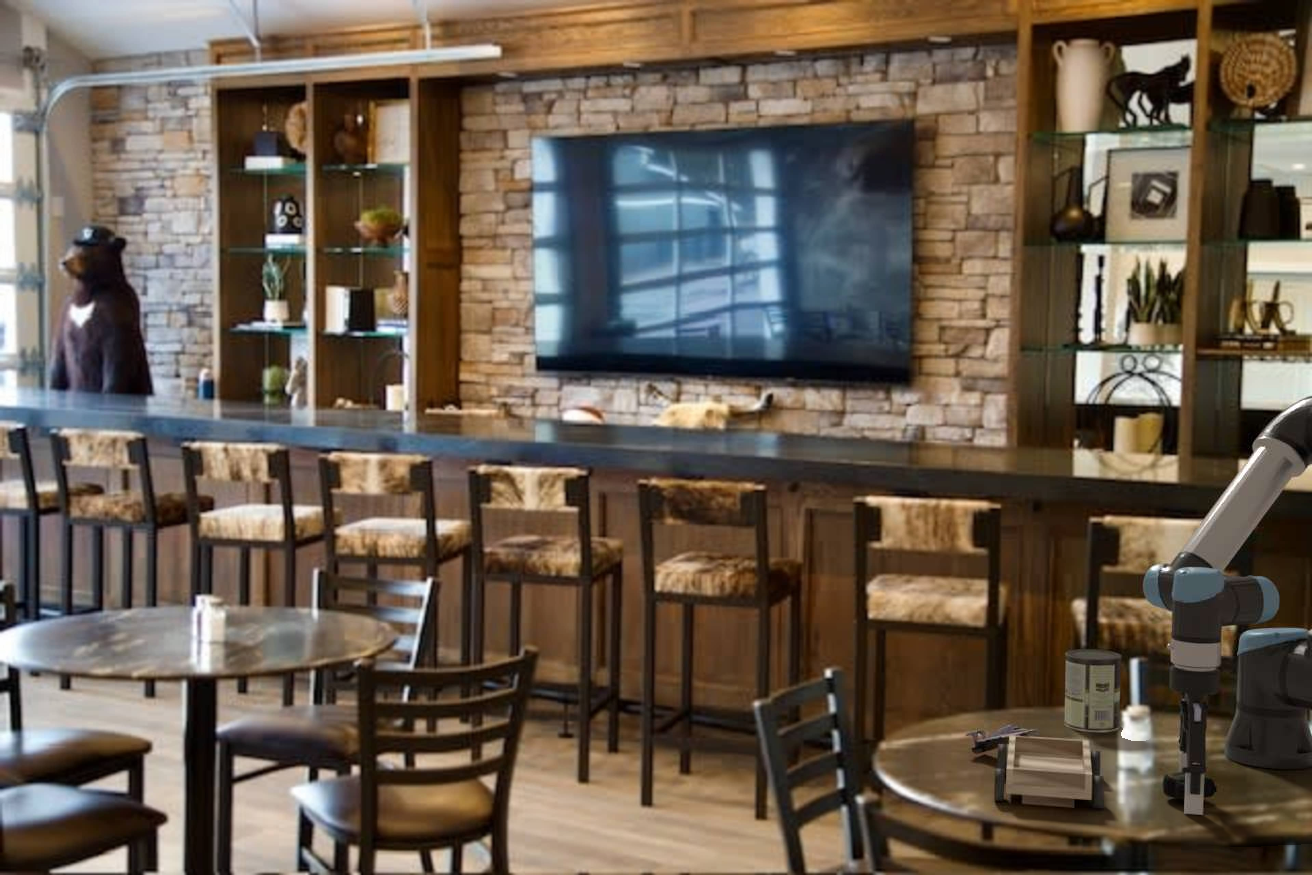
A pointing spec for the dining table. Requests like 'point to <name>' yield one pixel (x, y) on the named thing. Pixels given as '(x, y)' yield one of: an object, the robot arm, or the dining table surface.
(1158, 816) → the dining table surface
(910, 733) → the dining table surface
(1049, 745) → the cart
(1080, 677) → the coffee can
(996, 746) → the toy race car
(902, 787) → the dining table surface
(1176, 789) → the tape measure
